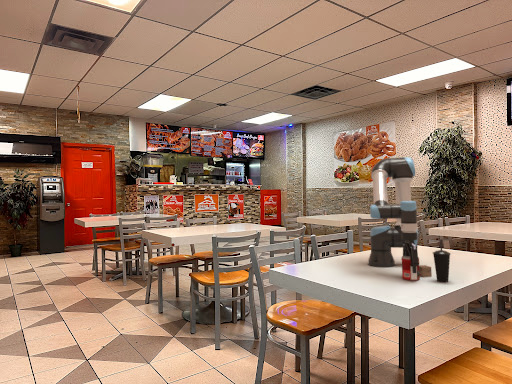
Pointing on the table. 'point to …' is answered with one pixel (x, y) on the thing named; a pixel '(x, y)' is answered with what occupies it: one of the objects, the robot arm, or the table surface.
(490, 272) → the table surface
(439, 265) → the drinking cup
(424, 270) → the walnut block
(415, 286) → the table surface
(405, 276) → the canned food
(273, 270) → the table surface
